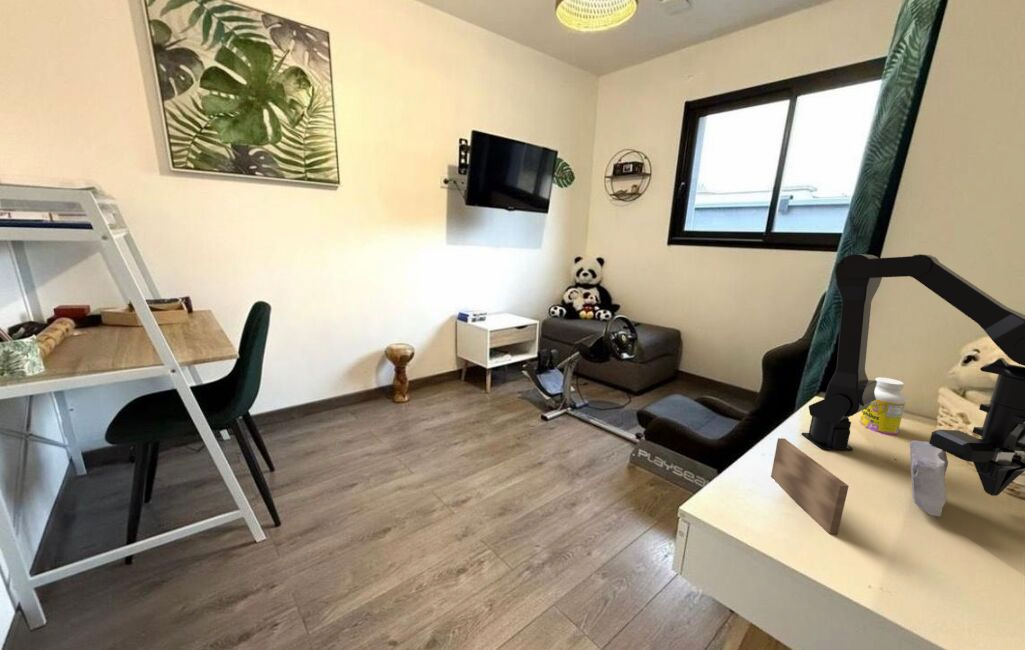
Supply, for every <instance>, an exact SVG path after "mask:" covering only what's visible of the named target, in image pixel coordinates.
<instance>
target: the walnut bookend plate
mask: <svg viewBox="0 0 1025 650" xmlns="http://www.w3.org/2000/svg"><path fill="white" fill-rule="evenodd" d="M770 477H771V479H772V480H773V479H774V480H775V481H774V480H773V481H774V482H775V483H776V484H777V485H778V484H779V485H778V486H779V487H780V488H781V489H782V490H783V491H784V492H785V493H786V494H787V495H788V497H790V498H791V499H792V500H793V502H794V503H796V504H797V505H798V507H800V508H801V509H802V510H803V511H804V512H805V513H806V514H808V515H809V517H811V518H812V519H813V520H814V521H815V522H816V523H817V524H818V525H819V526H820V527H821V528H822V529H823V530H824V531H826V532H827V533H828V534H829V535H838V534H839V529H840V525H841V521H842V517H843V512H844V507H845V504H846V499H847V496H848V491H849V484H847V483H845V481H843V480H842V479H841V478H839V477H838V476H836V475H835V474H833V473H832V472H831V471H829V470H828V469H827V468H825V467H824V466H822V465H821V464H820V463H818V462H817V461H816V460H815V459H813V458H812V457H811V456H809V455H808V454H806V453H805V452H804V451H802V450H801V449H799V447H796V445H795V444H793V443H792V442H790V441H789V440H787V438H784V437H783V438H780V437H779V438H777V442H776V447H775V452H774V458H773V462H772V469H771V473H770Z"/></svg>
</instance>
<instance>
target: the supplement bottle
mask: <svg viewBox="0 0 1025 650" xmlns="http://www.w3.org/2000/svg"><path fill="white" fill-rule="evenodd" d="M875 380H876V381H877V385H876V388H875V391H874V393H875V397H876V400H874V401H873V402H871V404H870V405H869V407H867V408H866V409H864V410H862V411H861V412H862V413H860V415H861V416H860V419H859V423H860V425H861V426H862V427H864V428H866V429H867V430H870V431H873V432H875V433H879V434H883V435H889V436H894V435H898V432H899V431H900V426H901V421H902V418H903V414H904V410H905V406H906V403H907V397H906V395H904V393H902V392H901V391H902V390H903V389H904V385H905V383H904V382H903V381H901V380H899V379H898V380H897V379H893V378H889V377H876V378H875Z"/></svg>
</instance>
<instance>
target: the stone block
mask: <svg viewBox="0 0 1025 650" xmlns="http://www.w3.org/2000/svg"><path fill="white" fill-rule="evenodd" d="M909 452H910V453H909V454H910V473H911V474H910V475H911V492H912V498H913V503H914V504H915V505H916V506H917V507H919V508H921V510H923V511H924V512H926V514H929V515H931V516H933V517H941V515H942V512H943V508H944V506H945V504H946V502H947V495H948V493H947V486H946V476H945V475H946V472H947V468H948V466H949V461H948V456H947V452H946V451H943V450H941V449H939V448H937V447H935V446H933V445H931V444H929V441H921V440H916V439H915V440H911V441H910V442H909Z"/></svg>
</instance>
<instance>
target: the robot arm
mask: <svg viewBox="0 0 1025 650" xmlns="http://www.w3.org/2000/svg"><path fill="white" fill-rule="evenodd" d="M834 267H835V268H834V275H835V284H836V287H837V290H838V293H839V296H840V299H841V308H840V309H841V311H840V323H839V333H838V345H837V357H836V368H835V371H834V373H833V374H832V377H831V379H830V380H829V383H828V384H827V387H826V391H825V395H824V398H823V399H821V400H819V401H816V402H813V403H812V404H809V405H808V410H809V415H810V416H811V420H810V424H809V425H810V426H809V431H808V432H801V434H800V435H801V436H802V437H804V438H805V439H806V440H809V442H811V443H812V444H814V445H815V446H817V447H819V448H820V449H821V450H832V451H833V450H834V451H838V450H839V451H853V450H854V447H852V446H851V445H850V444H848V443H849V439H850V435H851V424H852V422H851V421H850V419H849V418H850V417H853V416H854V415H856V414H858V413H860V412H862V411H863V410H864V409H866V408H867V407H869V405H870V404H871V402H873V401H874V400H876V397H875V393H874V391H875V388H876V385H877V381H876V379H875V380H871V379H869V378H868V376H867V373H866V359H867V352H868V350H867V349H868V342H869V341H868V340H869V339H868V337H869V329H870V317H871V310H872V309H871V307H872V301H873V298H874V296H875V295H876V293H877V292H878V290H879V287H880V285H881V283H882V282H881V281H882V279H883V278H899V277H900V278H901V277H906V278H907V277H911V278H912V279H915V280H916V281H917V282H919V283H920V284H922V285H923V286H924V287H926V288H927V289H928V290H930V291H931V292H933V293H934V294H936V295H937V296H938V297H940V298H941V299H942V300H944V301H946V302H947V303H949V305H951V306H953V308H955V309H957V310H958V311H960V312H961V313H962V314H964V315H965V316H966V317H968V318H969V319H971V320H972V321H974V322H975V323H976V324H977V325H979V327H981V329H982V330H983V331H984V332H985V333H986V335H987V336H988V338H990V339H991V341H992V342H993V343H994V344H995V345H996V347H998V348H999V349H1000V350H1001V351H1002V352H1003V353H1004V354H1005V355H1006V357H1008V359H1010V360H1011V361H1012V362H1014V363H1017V364H1018V365H1017V364H1010V363H1009V362H1007V361H1006V359H1005V358H1004V357H998V358H997V359H996V360H995V361H993V362H989V363H986V364H984V365H982V366H981V367H980V368H979V370H980V371H981V372H985V373H990V374H993V375H994V374H995V375H997V378H996V381H995V385H994V388H993V390H992V395H991V396H990V397H991V398H990V401H989V403H980V404H979V408H978V409H979V410H980V411H982V412H985V413H986V415H985V418H984V420H983V425H982V426H974V427H973V429H972V434H975V435H977V436H980V438H979V437H975V436H973V435H970V434H968V433H966V432H965V431H964V432H963V431H961V430H957V429H955V430H954V429H937V430H934V431H931V433H930V437H929V441H928V442H929V444H931V445H933V446H935V447H937V448H939V449H941V450H943V451H945V452H946V453H948V454H950V455H952V456H953V457H955V458H958V459H961V460H962V461H966V462H970V463H973V465H974V467H975V469H976V473H977V475H978V477H979V480H980V482H981V485H982V487H983V491H984V492H985V493H986V494H988V495H989V496H993V497H994V496H996V497H997V496H999V494H1001V493H1002V492H1003V491H1004V490H1005V489H1007V487H1009V485H1010V484H1011V483H1012V482H1014V481H1015V480H1016V479H1017V478H1018V477H1019V476H1020V475H1022V474H1023V473H1024V472H1025V314H1023V313H1022V312H1019V311H1017V310H1014V309H1011V308H1010V307H1008V306H1006V305H1005V304H1003V303H1002V302H1000V301H998V300H997V299H996V298H994V297H992V296H991V295H990V294H988V293H987V292H985V291H983V290H982V289H980V288H979V287H978V286H977V285H974V284H973V283H971V282H970V281H969V280H967V279H965V278H964V277H962V276H961V275H960V274H958V273H956V272H955V271H953V270H952V269H951V268H949V267H948V266H946V265H944V264H943V263H941V262H940V260H939V259H938V258H936V256H933V255H931V254H920V253H919V254H913V255H911V256H910V255H909V256H894V257H892V256H891V257H878V256H876V255H873V254H862V253H861V254H860V253H859V254H857V253H854V254H849V255H846V256H844V257H843V258H841V259H840V260H839V261H837V263H836V264H835V266H834Z"/></svg>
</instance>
